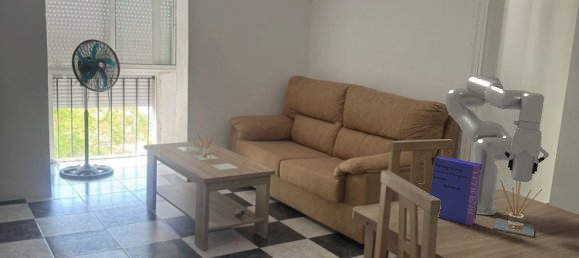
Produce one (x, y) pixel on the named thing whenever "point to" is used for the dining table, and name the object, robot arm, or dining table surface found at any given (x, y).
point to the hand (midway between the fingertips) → (522, 171)
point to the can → (522, 167)
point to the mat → (502, 226)
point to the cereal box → (457, 188)
